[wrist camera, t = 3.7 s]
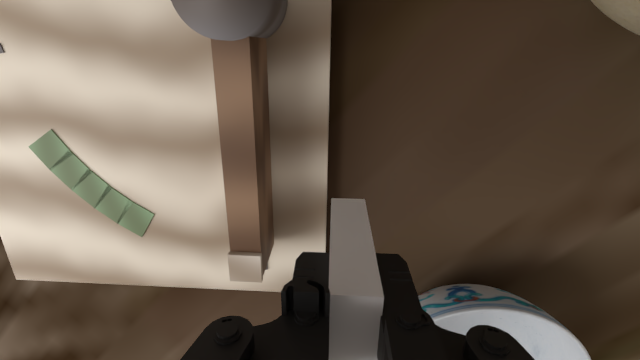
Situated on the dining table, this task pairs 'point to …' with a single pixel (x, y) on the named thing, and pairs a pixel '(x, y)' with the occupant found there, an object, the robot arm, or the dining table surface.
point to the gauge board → (148, 144)
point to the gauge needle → (242, 120)
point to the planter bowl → (622, 12)
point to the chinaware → (502, 319)
